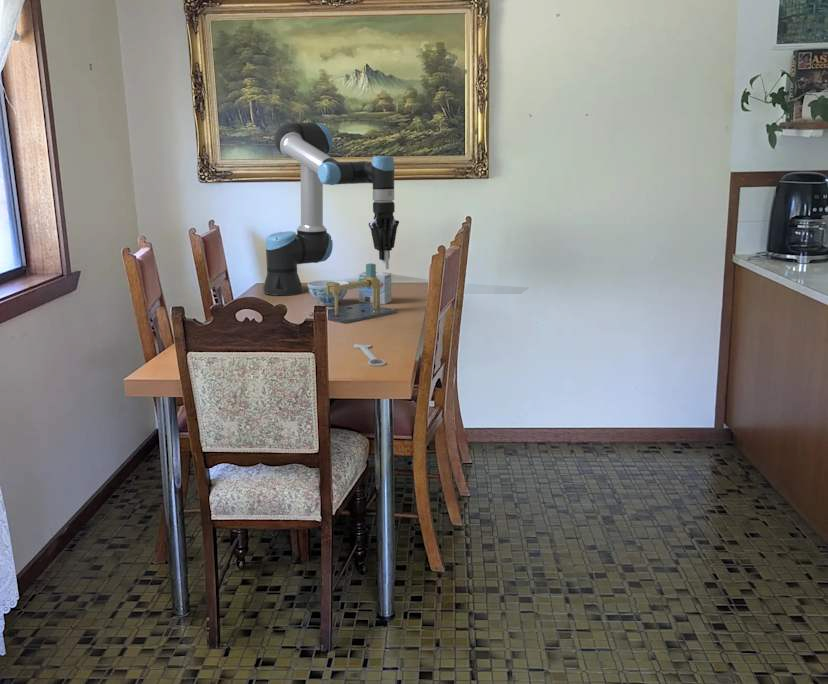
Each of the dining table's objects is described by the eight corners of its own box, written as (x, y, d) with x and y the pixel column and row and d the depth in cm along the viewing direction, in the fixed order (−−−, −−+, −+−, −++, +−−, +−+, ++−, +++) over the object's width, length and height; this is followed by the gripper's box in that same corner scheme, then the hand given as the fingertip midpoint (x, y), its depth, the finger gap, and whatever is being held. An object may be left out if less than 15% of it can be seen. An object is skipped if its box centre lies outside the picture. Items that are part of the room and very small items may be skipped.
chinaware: (319, 299, 322) (319, 279, 321) (356, 301, 317) (355, 281, 315) (300, 306, 309) (300, 285, 307) (338, 309, 304) (337, 288, 302)
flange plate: (309, 315, 293) (309, 312, 293) (361, 305, 310) (361, 302, 310) (344, 323, 281) (344, 320, 281) (396, 312, 298) (396, 309, 298)
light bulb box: (358, 302, 316) (358, 273, 314) (365, 299, 322) (365, 271, 320) (385, 304, 313) (385, 275, 310) (392, 301, 319) (392, 272, 316)
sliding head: (365, 306, 302) (364, 263, 298) (369, 305, 303) (369, 263, 300) (372, 308, 299) (372, 265, 295) (377, 307, 301) (377, 264, 297)
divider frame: (327, 314, 289) (326, 282, 287) (374, 305, 305) (374, 274, 302) (334, 316, 287) (334, 283, 284) (382, 307, 302) (382, 276, 300)
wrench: (369, 347, 253) (352, 348, 252) (369, 342, 253) (352, 343, 252) (388, 367, 230) (369, 368, 229) (388, 361, 229) (369, 362, 228)
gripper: (377, 202, 290) (378, 272, 295) (404, 200, 299) (405, 267, 305) (362, 202, 295) (363, 269, 300) (389, 200, 304) (390, 265, 310)
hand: (384, 268), depth 302 cm, fingers closed
